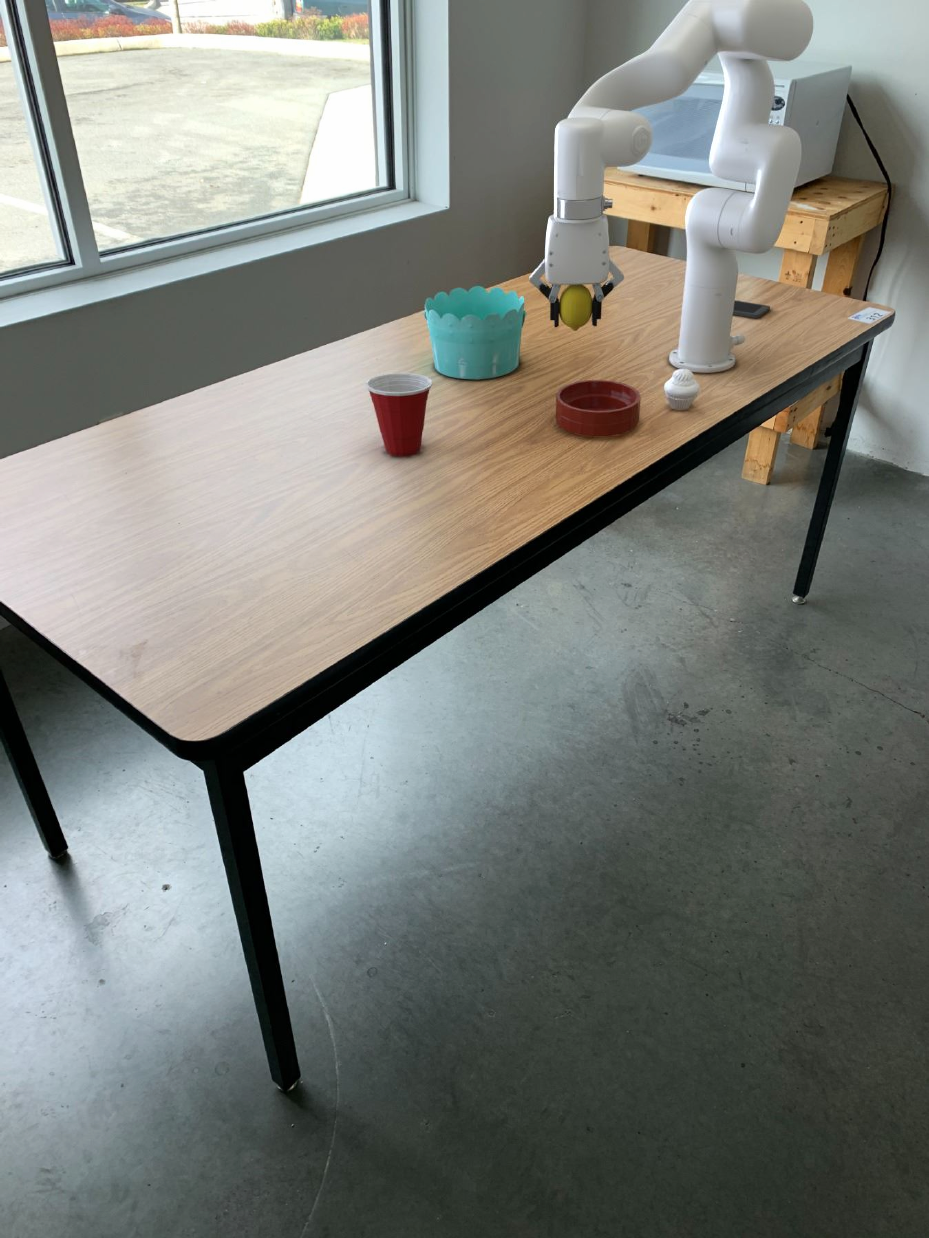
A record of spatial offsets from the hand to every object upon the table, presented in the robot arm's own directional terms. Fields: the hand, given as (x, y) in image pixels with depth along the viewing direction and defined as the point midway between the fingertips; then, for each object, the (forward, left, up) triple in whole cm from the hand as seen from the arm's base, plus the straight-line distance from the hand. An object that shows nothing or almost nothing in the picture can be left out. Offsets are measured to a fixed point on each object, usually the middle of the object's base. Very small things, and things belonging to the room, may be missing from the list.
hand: (575, 323), depth 160 cm
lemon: (0, 0, -1) cm, 1 cm away
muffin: (-18, +8, -17) cm, 26 cm away
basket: (-2, -32, -17) cm, 37 cm away
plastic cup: (+30, -8, -17) cm, 35 cm away
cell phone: (-66, -23, -17) cm, 72 cm away
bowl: (-2, +4, -17) cm, 18 cm away
